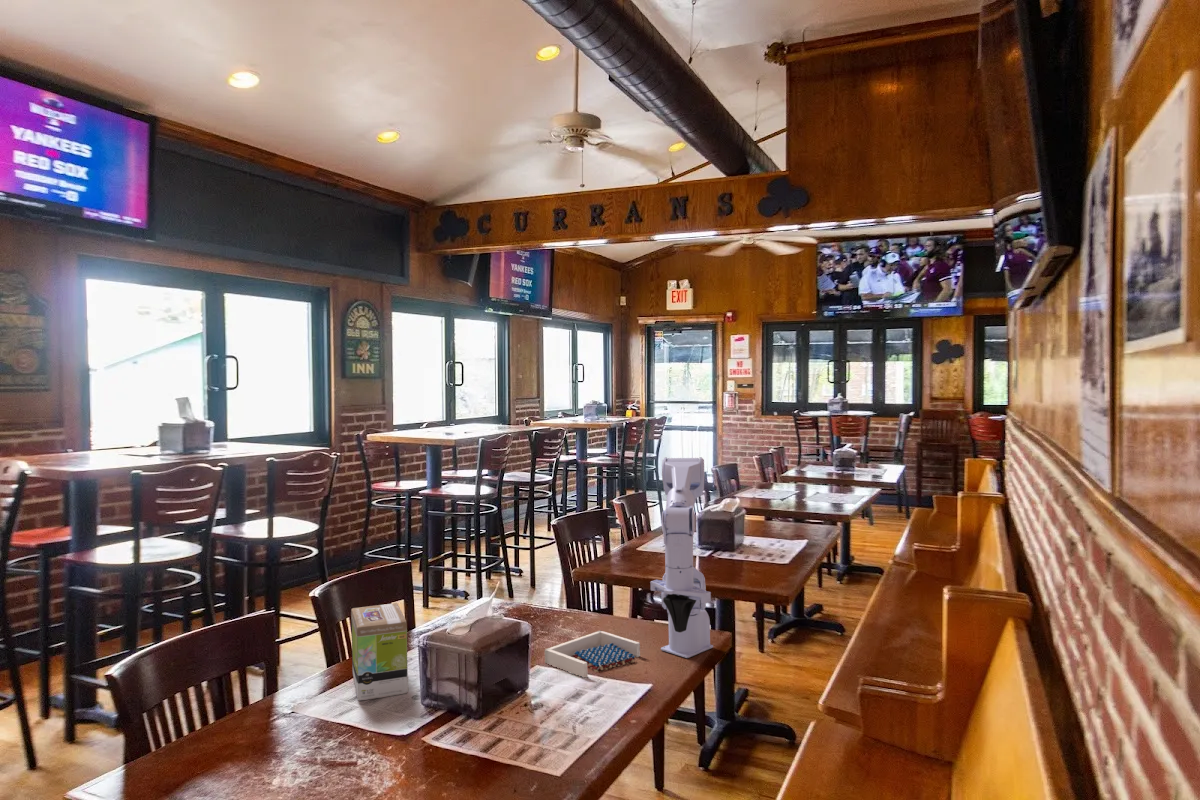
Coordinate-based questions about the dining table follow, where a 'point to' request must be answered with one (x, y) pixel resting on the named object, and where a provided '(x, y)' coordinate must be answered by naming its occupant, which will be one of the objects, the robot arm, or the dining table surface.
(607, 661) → the woven mat
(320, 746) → the dining table surface
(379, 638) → the tea box
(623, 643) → the frame
